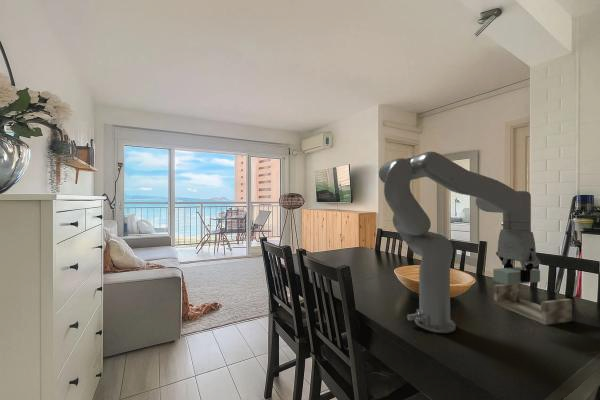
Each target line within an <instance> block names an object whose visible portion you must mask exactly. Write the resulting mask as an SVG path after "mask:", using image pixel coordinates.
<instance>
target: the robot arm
mask: <svg viewBox="0 0 600 400" xmlns="http://www.w3.org/2000/svg"><path fill="white" fill-rule="evenodd" d="M378 177H379V179H380V181H381V182H382V183H384V186H383V194H384V195H383V196H384V198H385V201H386V203H387V204H388V207H389V208H390V210H391V211H392V213H393V216H392V224H393V227H394V229H395V230H396V232H397V233H398V234H399V236H400V237H401V238H402V239H403V241H404V242H405V243H406V245H407V246H408V248H409V249H410V250H411V252H413V253H414V254H416V255H418V256H419V257H421V261H420V265H419V268H418V284H419V285H418V296H419V297H418V298H419V299H418V301H419V302H418V305H419V308H417V309H416V312H415V313H410V314H409V313H408V314H407V315H406V318H407V320H408V321H414V322H415V324H416V325H417V326H418V327H420V328H422V329H424V330H426V331H428V332H432V333H438V334H448V333H453V332H454V331H456V329H457V328H456V323H455V322H454V321H453V320H452V319H451V279H450V278H451V263H452V258H453V253H454V250H453V244H452V243H451V241H450V240H449V239H448V237H446V236H444V235H442V234H440V233H436V232H434V231H433V232H432V231H429V230H430V229H431V225H432V224H431V222H432V221H431V219H430V217H429V215H428V214H427V213H426V211H425V210H424V209H423V207H422V206H421V205H420V204H419V202H418V200H417V199H416V198H415V196H414V194H413V193H412V191H411V181H413V180H417V179H421V178H428V179H430V180H432V181H433V182H435V183H437V184H438V185H440V186H442V187H444V188H445V189H446V190H449V191H450V192H454V193H456V194H460V195H464V196H469V197H474V198H475V205H476V207H477V208H478V209H479V210H481V211H483V212H486V213H487V212H488V213H501V214H502V222H500V224H501V226H502V229H500V231H499V235H498V241H497V251H496V252H495V255H496V256H497V257H498V258H499V260H500V261H501V265H502V266H503V268H512V267H514V265H513V264H512V263H513V261H516V262H520V267H522V269H523V270H521V271H520V272H521V282H530V270H532V269H535V267H537V266H539V265H541V263H542V261H541V260H540V259H539V257H538V256H537V253H536V252H537V251H536V248H537V247H536V241H535V237H534V236H535V235H534V233H533V231H532V195H531V193H530V192H529V191H525V190H515V189H514V188H512V187H510V186H509V185H507V184H505V183H504V182H502V181H499V180H497V179H494V178H491V177H489V176H485V175H483V174H480V173H477V172H474V171H471V170H468V169H467V168H465V167H462V166H461V165H459V164H458V163H456V162H454V161H452V160H451V159H449V158H447V157H445V156H444V155H442V154H440V153H438V152H436V151H427V152H423V153H420V154H418V155H415V156H412V157H407V158H403V157H399V158H398V157H397V158H395V159H392V160H389V161H388V162H385V163H384V164H383V165H381V166H380V168H379V170H378Z"/></svg>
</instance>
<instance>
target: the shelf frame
mask: <svg viewBox="0 0 600 400" xmlns="http://www.w3.org/2000/svg"><path fill="white" fill-rule="evenodd" d="M493 304H494V305H497V306H498V307H502V308H504V309H506V310H509V311H512V312H514V313H517V314H518V315H521V316H523V317H526V318H528V319H531V320H534V321H535V322H538V323H540V324H542V325H546V326H547V325H554V324H561V323H568V322H573V299H571V298H561V299H553V300H545V301H544V300H542V301H541V302H540V304H538V303H536V302H533V301H529V300H527V299H524V298H521V284H513V285H506V284H503V283H500V284H494V285H493Z"/></svg>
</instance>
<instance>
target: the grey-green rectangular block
mask: <svg viewBox="0 0 600 400" xmlns="http://www.w3.org/2000/svg"><path fill="white" fill-rule="evenodd" d="M521 270H523V269H522V266H513V267H512V268H504V267H503V268H502V267H501V268H493V276H492V277H493V281H495V282H497V283H500V284H506V285H513V284H520V285H522V284H531V283H539V282H541V269H537V268H533V269H532V270H530V282H521V272H520V271H521Z"/></svg>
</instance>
